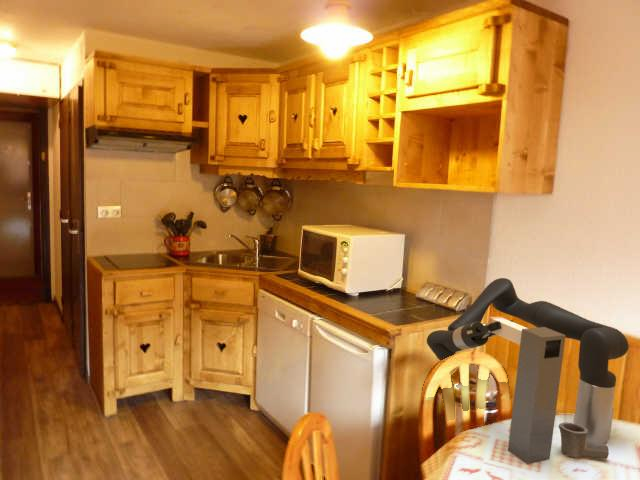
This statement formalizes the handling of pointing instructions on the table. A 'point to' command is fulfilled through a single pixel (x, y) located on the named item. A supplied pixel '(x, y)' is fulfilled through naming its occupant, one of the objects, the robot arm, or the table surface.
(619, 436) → the table surface
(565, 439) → the pipe
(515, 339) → the block
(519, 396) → the grey tall rectangular block
